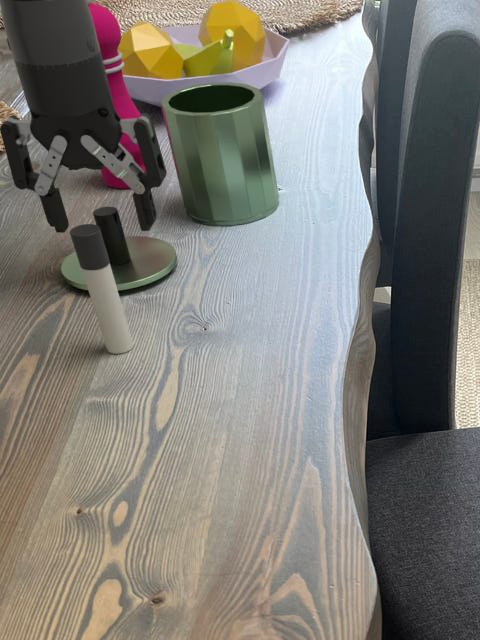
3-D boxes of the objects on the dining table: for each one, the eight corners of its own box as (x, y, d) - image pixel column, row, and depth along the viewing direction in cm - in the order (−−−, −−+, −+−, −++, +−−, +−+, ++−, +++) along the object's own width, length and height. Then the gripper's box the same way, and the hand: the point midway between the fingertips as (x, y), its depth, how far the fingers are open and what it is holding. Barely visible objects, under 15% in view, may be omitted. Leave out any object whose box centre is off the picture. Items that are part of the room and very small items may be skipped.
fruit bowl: (104, 78, 151) (81, -10, 143) (284, 59, 155) (272, -27, 147) (106, 142, 132) (79, 45, 123) (311, 118, 136) (299, 23, 128)
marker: (103, 354, 92) (65, 236, 85) (110, 341, 94) (74, 224, 86) (130, 354, 92) (95, 235, 85) (137, 340, 94) (103, 223, 86)
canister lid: (50, 298, 101) (28, 237, 96) (82, 248, 109) (64, 189, 104) (165, 296, 100) (149, 234, 96) (188, 245, 109) (175, 187, 104)
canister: (177, 226, 112) (151, 116, 104) (196, 189, 120) (172, 83, 111) (272, 224, 112) (253, 113, 104) (284, 187, 119) (268, 81, 111)
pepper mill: (130, 195, 119) (78, -1, 105) (87, 183, 122) (31, -9, 107) (173, 174, 123) (129, -17, 109) (131, 164, 126) (82, -24, 112)
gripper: (144, 36, 93) (182, 213, 104) (-10, 38, 93) (45, 215, 104) (125, 60, 88) (167, 243, 99) (-39, 62, 87) (23, 246, 99)
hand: (105, 228), depth 102 cm, fingers open, 8 cm apart
